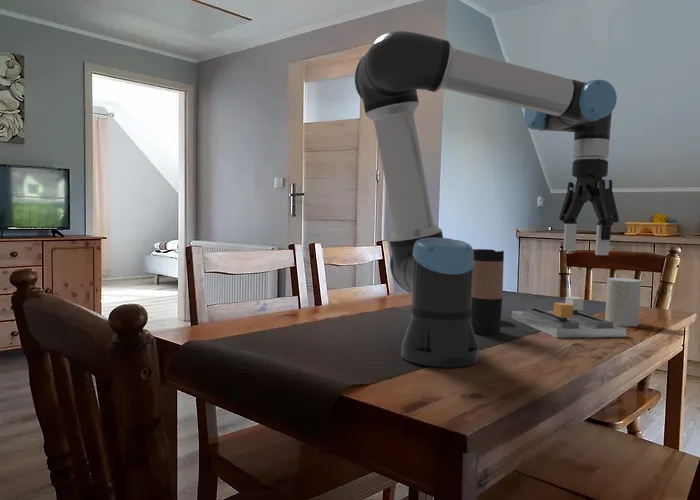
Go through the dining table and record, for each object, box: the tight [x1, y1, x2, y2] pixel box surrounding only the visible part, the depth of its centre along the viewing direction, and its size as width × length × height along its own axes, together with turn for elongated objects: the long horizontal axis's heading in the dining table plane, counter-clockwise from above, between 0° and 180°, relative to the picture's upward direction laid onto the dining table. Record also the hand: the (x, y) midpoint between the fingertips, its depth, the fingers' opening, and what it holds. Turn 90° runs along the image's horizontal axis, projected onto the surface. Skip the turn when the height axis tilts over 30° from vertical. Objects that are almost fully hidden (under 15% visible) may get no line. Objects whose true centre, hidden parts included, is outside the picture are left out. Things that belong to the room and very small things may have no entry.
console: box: [511, 307, 627, 339], centre depth 145 cm, size 18×24×3 cm
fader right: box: [564, 296, 584, 315], centre depth 149 cm, size 3×4×5 cm
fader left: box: [552, 302, 573, 322], centre depth 138 cm, size 3×4×5 cm
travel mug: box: [471, 248, 505, 336], centre depth 136 cm, size 8×8×20 cm
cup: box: [604, 277, 642, 327], centre depth 152 cm, size 8×8×12 cm
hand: (584, 252), depth 130 cm, fingers open, 12 cm apart
